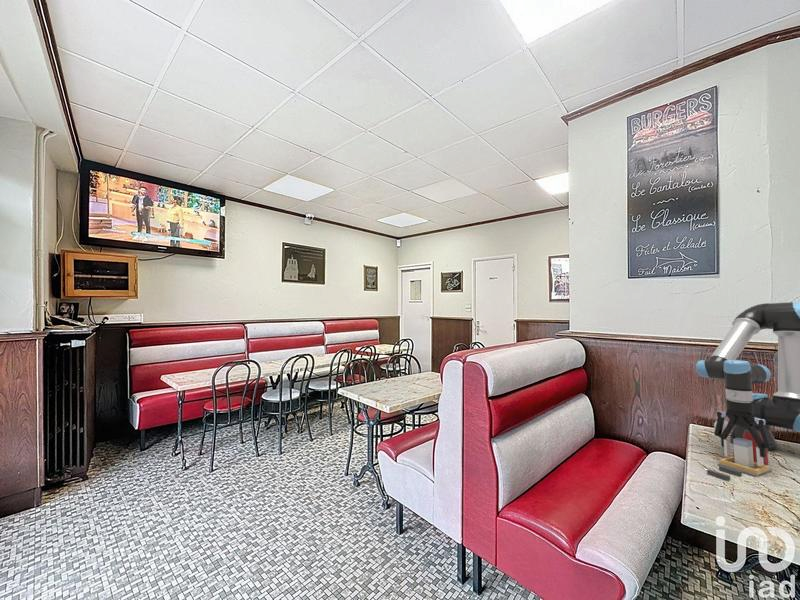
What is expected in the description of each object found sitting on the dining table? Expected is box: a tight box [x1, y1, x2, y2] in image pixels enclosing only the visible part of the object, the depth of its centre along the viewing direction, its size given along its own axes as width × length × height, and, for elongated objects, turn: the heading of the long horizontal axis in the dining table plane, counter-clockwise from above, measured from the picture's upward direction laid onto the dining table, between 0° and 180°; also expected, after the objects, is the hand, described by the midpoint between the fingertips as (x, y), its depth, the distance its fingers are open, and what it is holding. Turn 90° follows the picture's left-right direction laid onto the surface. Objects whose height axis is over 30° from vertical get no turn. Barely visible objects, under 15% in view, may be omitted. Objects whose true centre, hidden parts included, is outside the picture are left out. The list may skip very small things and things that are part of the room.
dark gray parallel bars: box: [706, 466, 743, 482], centre depth 125 cm, size 10×6×2 cm, turn 113°
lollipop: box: [713, 419, 733, 434], centre depth 142 cm, size 6×6×15 cm
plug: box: [732, 438, 754, 468], centre depth 131 cm, size 4×4×10 cm
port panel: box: [717, 455, 772, 478], centre depth 131 cm, size 12×11×2 cm
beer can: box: [743, 429, 769, 466], centre depth 137 cm, size 7×7×12 cm
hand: (743, 460), depth 131 cm, fingers open, 9 cm apart
